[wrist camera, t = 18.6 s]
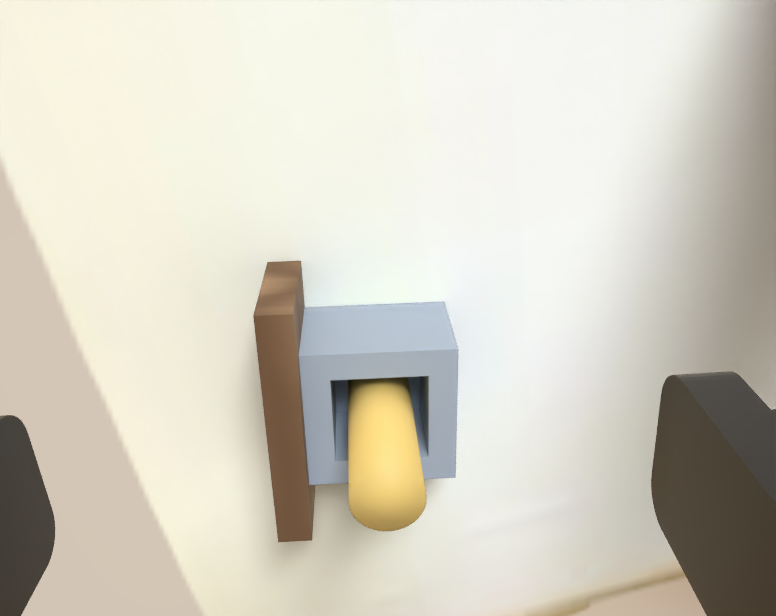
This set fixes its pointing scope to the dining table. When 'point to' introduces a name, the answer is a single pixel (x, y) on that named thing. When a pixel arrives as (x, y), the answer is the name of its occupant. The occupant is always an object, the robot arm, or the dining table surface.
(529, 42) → the dining table surface
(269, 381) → the wall
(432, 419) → the socket block
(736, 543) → the robot arm
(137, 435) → the dining table surface
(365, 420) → the dowel
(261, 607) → the dining table surface
